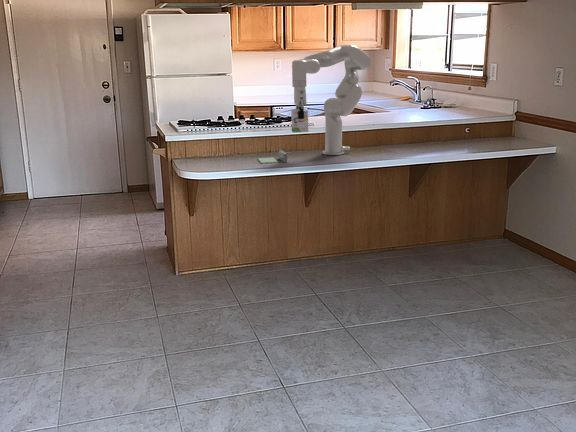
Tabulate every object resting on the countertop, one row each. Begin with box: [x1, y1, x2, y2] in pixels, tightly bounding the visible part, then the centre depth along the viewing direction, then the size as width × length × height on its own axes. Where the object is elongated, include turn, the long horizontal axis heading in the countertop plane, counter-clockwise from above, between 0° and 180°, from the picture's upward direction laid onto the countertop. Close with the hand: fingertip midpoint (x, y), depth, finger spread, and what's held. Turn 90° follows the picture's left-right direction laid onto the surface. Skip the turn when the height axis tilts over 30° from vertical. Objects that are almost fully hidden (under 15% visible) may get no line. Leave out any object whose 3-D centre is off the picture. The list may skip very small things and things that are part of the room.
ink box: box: [290, 108, 309, 133], centre depth 328 cm, size 8×5×12 cm, turn 101°
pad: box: [257, 157, 279, 164], centre depth 330 cm, size 9×13×1 cm
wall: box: [278, 149, 288, 163], centre depth 331 cm, size 2×13×4 cm, turn 12°
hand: (299, 117), depth 328 cm, fingers closed on ink box, 5 cm apart
